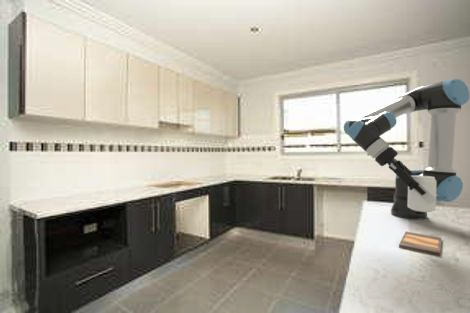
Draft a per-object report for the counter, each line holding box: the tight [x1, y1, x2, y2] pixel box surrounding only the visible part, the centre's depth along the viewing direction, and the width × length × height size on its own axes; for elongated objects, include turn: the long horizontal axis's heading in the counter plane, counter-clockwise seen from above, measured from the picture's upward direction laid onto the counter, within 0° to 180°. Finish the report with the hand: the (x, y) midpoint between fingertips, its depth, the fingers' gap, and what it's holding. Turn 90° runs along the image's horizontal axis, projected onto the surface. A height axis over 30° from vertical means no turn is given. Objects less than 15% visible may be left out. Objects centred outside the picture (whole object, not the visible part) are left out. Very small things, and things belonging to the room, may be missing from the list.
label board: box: [398, 231, 442, 257], centre depth 90 cm, size 18×11×1 cm, turn 139°
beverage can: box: [407, 175, 437, 213], centre depth 89 cm, size 8×8×12 cm
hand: (433, 199), depth 87 cm, fingers closed on beverage can, 8 cm apart
